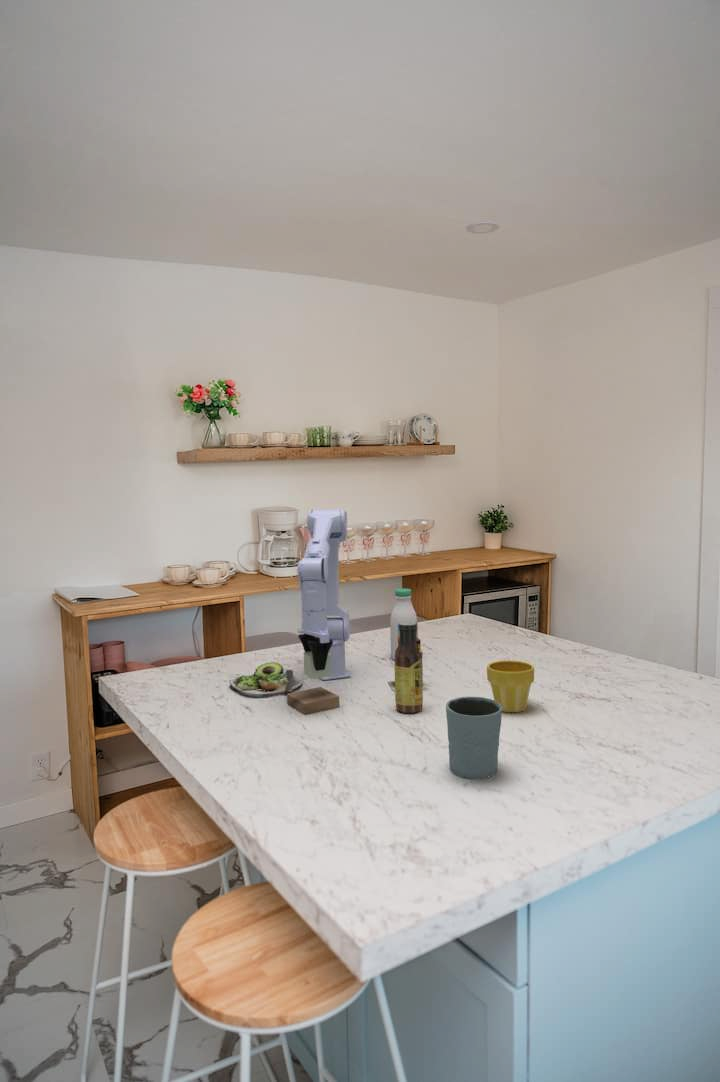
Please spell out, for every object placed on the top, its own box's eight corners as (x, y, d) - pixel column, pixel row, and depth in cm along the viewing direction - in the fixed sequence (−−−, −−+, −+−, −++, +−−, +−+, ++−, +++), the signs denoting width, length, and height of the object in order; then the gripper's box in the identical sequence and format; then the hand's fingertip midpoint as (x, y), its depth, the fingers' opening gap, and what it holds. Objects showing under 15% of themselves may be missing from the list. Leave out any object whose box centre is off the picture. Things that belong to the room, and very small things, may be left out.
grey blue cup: (465, 753, 139) (464, 692, 138) (512, 766, 133) (512, 703, 131) (435, 771, 131) (434, 707, 130) (485, 786, 125) (484, 719, 123)
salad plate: (319, 692, 180) (319, 673, 179) (252, 706, 171) (252, 687, 170) (286, 673, 196) (285, 657, 196) (223, 685, 187) (222, 668, 187)
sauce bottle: (421, 715, 161) (419, 627, 158) (393, 713, 162) (391, 626, 160) (424, 705, 167) (423, 620, 165) (397, 704, 168) (395, 620, 166)
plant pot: (496, 697, 171) (496, 657, 170) (540, 704, 165) (540, 662, 164) (480, 711, 162) (480, 668, 161) (525, 718, 157) (525, 674, 156)
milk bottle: (388, 661, 204) (386, 591, 202) (394, 654, 212) (393, 586, 209) (414, 663, 202) (413, 592, 200) (420, 655, 209) (419, 587, 207)
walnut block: (287, 706, 170) (286, 693, 170) (320, 698, 175) (320, 686, 175) (305, 717, 163) (304, 704, 162) (339, 709, 167) (339, 696, 167)
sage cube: (304, 673, 170) (303, 652, 170) (324, 670, 172) (323, 649, 172) (310, 678, 166) (310, 657, 165) (331, 675, 167) (331, 654, 167)
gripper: (288, 605, 172) (290, 661, 174) (307, 616, 159) (309, 677, 160) (316, 602, 175) (318, 657, 176) (337, 613, 161) (339, 673, 163)
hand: (316, 666), depth 168 cm, fingers closed on sage cube, 5 cm apart
